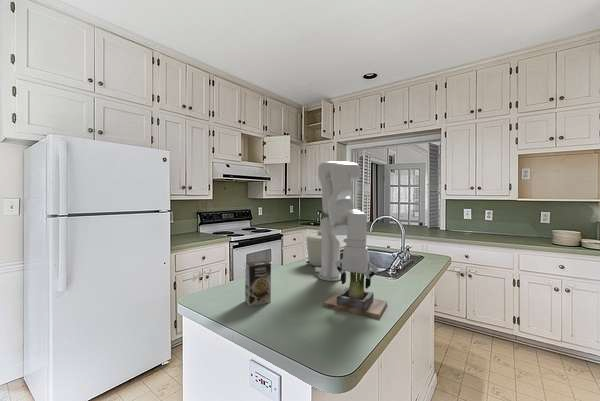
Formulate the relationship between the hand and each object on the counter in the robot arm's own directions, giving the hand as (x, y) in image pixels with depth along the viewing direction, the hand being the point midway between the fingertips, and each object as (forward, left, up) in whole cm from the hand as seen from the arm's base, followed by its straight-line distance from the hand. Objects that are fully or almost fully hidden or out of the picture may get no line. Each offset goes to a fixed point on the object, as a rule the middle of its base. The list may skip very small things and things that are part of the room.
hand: (355, 285), depth 115 cm
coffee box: (-36, -16, -8) cm, 40 cm away
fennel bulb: (0, 0, -7) cm, 7 cm away
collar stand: (0, 0, -8) cm, 8 cm away
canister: (-37, +48, -8) cm, 61 cm away
